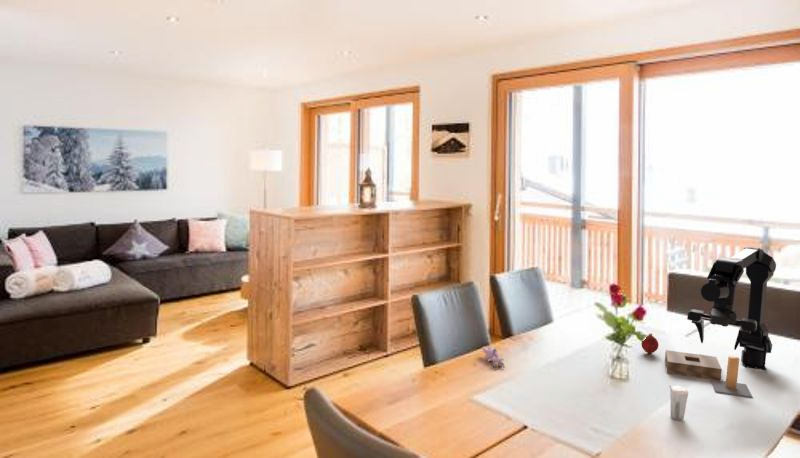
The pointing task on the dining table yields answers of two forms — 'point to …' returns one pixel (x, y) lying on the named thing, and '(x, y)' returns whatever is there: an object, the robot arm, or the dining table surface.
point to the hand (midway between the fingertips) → (718, 346)
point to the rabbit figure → (493, 356)
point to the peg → (732, 372)
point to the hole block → (692, 365)
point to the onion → (650, 344)
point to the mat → (739, 391)
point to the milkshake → (678, 402)
